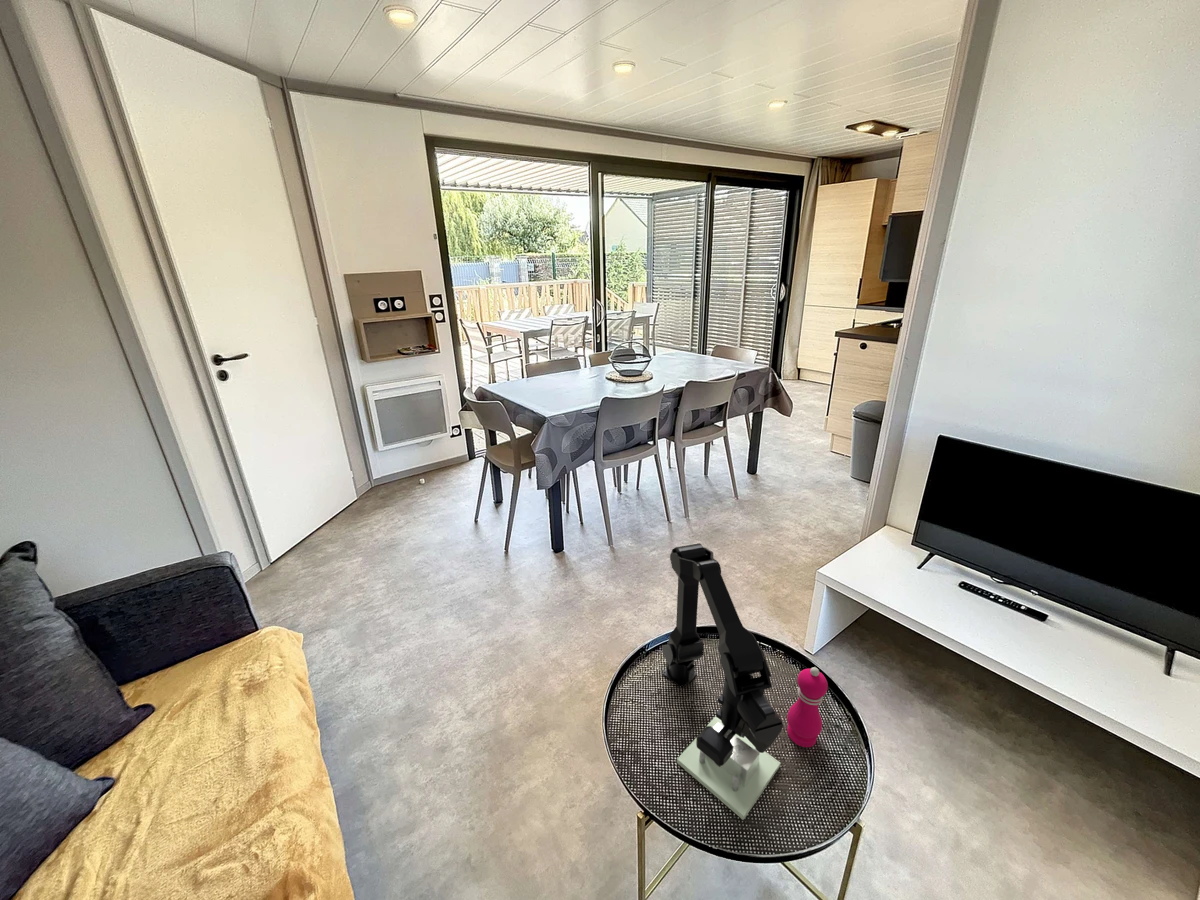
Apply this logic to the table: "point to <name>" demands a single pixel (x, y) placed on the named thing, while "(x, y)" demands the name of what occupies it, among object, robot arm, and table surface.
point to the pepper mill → (807, 708)
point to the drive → (740, 759)
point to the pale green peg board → (725, 784)
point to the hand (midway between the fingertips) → (730, 750)
